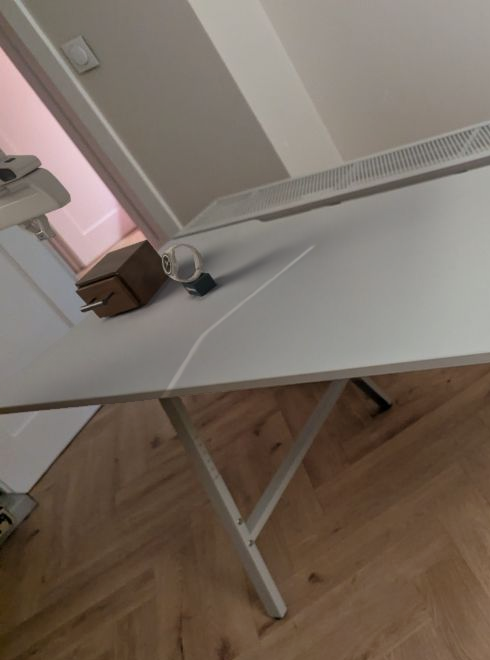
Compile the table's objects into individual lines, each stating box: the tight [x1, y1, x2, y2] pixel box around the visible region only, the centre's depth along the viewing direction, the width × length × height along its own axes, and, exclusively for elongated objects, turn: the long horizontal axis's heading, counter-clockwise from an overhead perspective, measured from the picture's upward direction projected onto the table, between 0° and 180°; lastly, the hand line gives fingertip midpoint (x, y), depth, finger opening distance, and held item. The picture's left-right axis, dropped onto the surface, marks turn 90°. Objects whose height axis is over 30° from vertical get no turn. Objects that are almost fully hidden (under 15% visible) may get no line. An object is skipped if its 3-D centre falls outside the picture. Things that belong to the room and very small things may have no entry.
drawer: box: [74, 274, 139, 319], centre depth 124 cm, size 18×10×8 cm, turn 0°
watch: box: [161, 243, 218, 297], centre depth 116 cm, size 6×8×11 cm
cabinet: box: [74, 239, 170, 318], centre depth 128 cm, size 15×12×10 cm
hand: (47, 238), depth 110 cm, fingers closed
